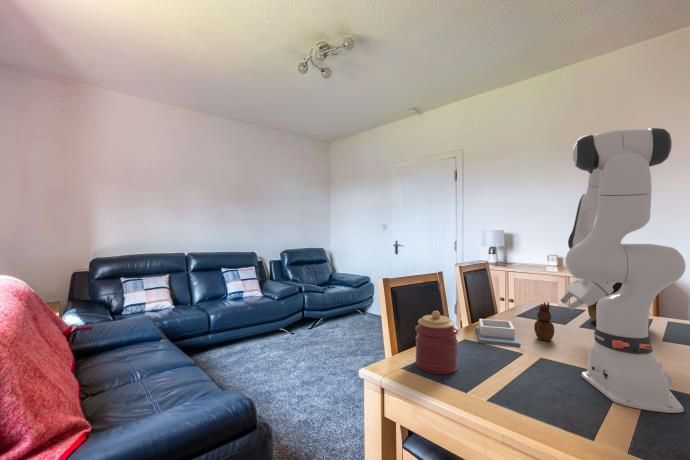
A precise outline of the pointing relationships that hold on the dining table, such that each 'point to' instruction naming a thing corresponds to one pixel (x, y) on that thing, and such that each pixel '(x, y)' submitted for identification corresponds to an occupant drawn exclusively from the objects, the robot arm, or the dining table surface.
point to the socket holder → (497, 332)
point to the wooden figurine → (544, 324)
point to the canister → (436, 344)
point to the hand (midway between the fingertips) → (565, 305)
